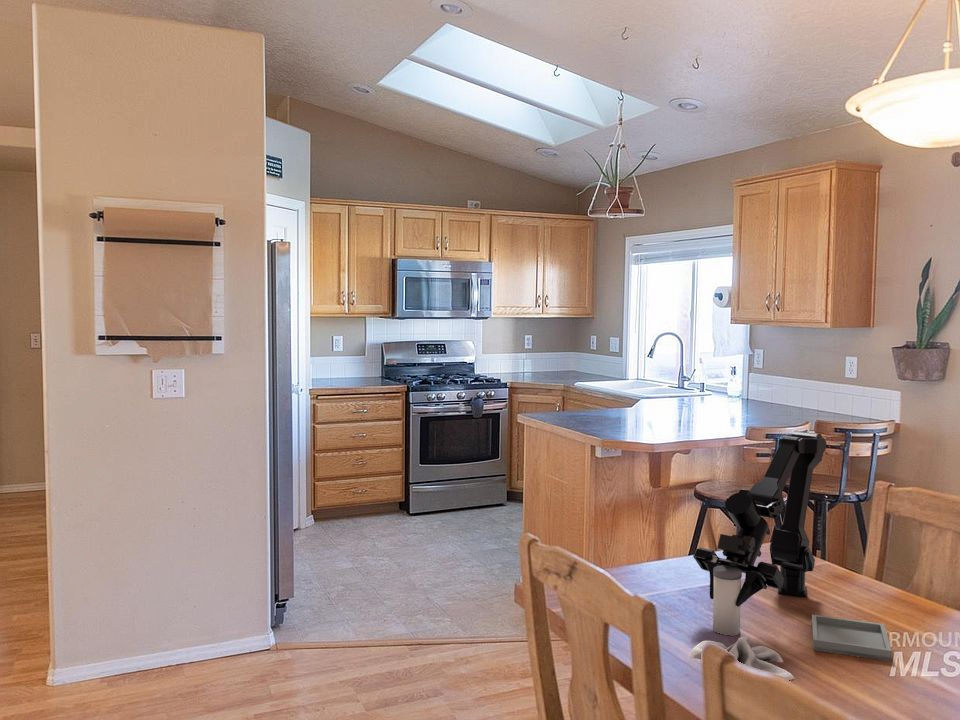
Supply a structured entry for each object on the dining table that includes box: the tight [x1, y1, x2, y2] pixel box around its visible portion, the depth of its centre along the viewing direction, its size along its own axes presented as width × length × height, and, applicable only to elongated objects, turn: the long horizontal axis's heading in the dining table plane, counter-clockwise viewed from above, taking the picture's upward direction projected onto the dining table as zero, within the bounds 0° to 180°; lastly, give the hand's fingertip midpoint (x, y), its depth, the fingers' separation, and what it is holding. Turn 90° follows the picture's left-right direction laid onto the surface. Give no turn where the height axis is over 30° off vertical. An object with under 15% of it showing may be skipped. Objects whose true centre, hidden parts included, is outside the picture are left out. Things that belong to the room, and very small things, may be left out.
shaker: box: [712, 565, 743, 637], centre depth 166 cm, size 6×6×13 cm
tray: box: [811, 614, 893, 663], centre depth 160 cm, size 14×14×2 cm
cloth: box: [689, 635, 794, 682], centre depth 149 cm, size 22×19×6 cm
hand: (723, 601), depth 165 cm, fingers closed on shaker, 6 cm apart
